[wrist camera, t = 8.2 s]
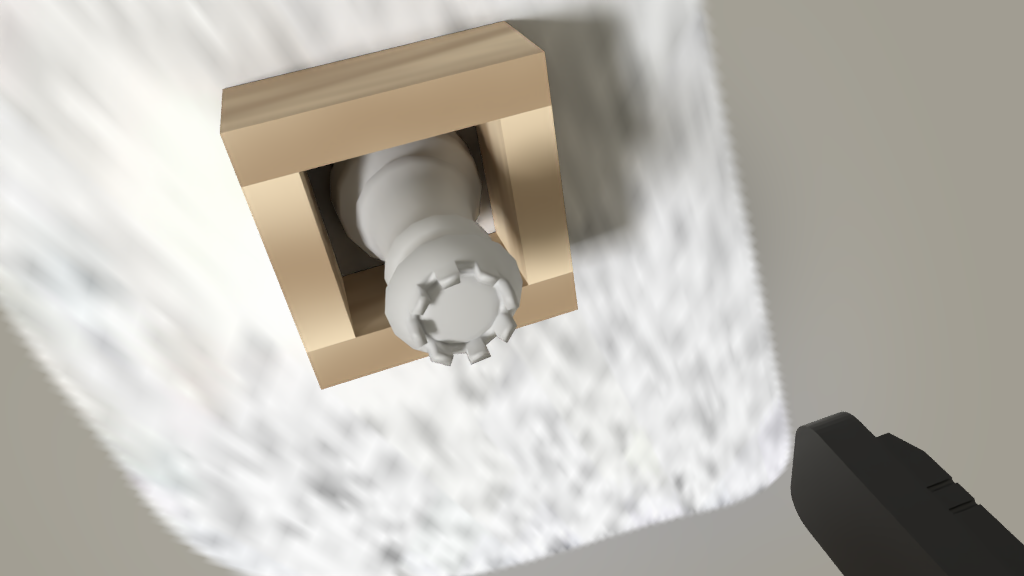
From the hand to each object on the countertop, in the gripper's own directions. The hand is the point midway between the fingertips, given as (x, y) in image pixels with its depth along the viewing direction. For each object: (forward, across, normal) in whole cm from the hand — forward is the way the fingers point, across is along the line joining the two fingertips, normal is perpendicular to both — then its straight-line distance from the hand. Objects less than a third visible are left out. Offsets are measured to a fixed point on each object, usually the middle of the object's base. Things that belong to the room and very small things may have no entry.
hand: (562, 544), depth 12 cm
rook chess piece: (+14, 0, 0) cm, 15 cm away
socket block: (+14, 0, 0) cm, 14 cm away
